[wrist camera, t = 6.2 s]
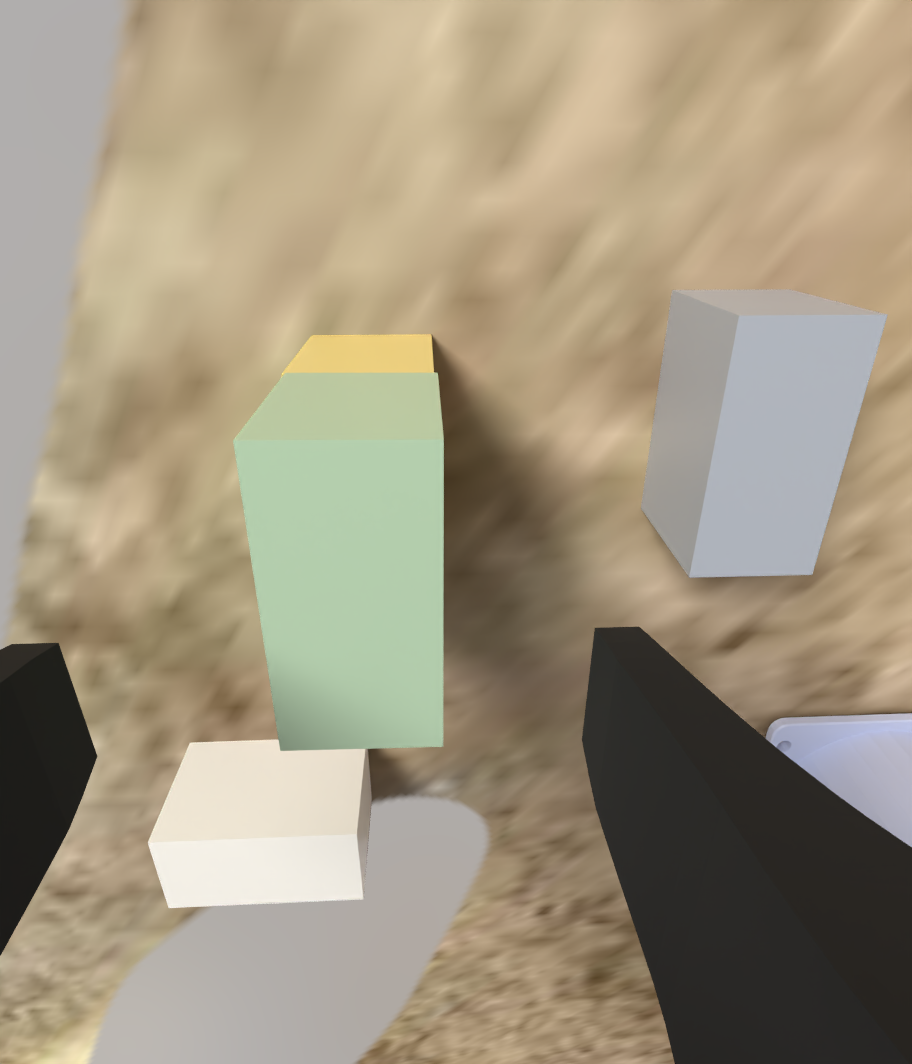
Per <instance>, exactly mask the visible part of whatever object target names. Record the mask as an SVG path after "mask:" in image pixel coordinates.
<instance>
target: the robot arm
mask: <svg viewBox="0 0 912 1064" xmlns="http://www.w3.org/2000/svg"><path fill="white" fill-rule="evenodd" d="M782 741H783V742H782ZM582 742H583V747H584V752H585V757H586V762H587V768H588V773H589V778H590V782H591V787H592V792H593V796H594V801H595V806H596V810H597V813H598V816H599V819H600V822H601V826H602V829H603V832H604V835H605V838H606V841H607V844H608V847H609V850H610V853H611V856H612V859H613V862H614V866H615V869H616V872H617V875H618V878H619V881H620V884H621V887H622V890H623V893H624V896H625V899H626V902H627V905H628V908H629V911H630V914H631V917H632V920H633V923H634V926H635V929H636V932H637V935H638V938H639V941H640V944H641V947H642V950H643V953H644V956H645V959H646V962H647V965H648V968H649V971H650V974H651V977H652V980H653V983H654V987H655V990H656V993H657V997H658V1000H659V1004H660V1007H661V1010H662V1014H663V1017H664V1021H665V1024H666V1028H667V1032H668V1037H669V1041H670V1045H671V1049H672V1053H673V1057H674V1062H675V1064H912V713H906V714H877V715H847V716H818V717H789V718H780V719H777V720H775V721H774V722H773V723H772V724H771V725H770V726H769V728H768V731H767V735H766V738H764V737H763V736H762V735H761V734H759V733H758V732H757V731H756V730H755V729H753V728H752V727H751V726H750V725H749V724H748V723H746V722H745V721H744V720H743V719H742V718H740V717H739V716H738V715H737V714H736V713H735V712H734V711H732V710H731V709H730V708H729V707H728V706H727V705H725V704H724V703H723V702H722V701H721V700H720V699H719V698H718V697H716V696H715V695H714V694H713V693H712V692H711V691H710V690H708V689H707V688H706V687H705V686H704V685H703V684H702V683H701V682H700V681H699V680H697V679H696V678H695V677H694V676H693V675H692V674H691V673H690V672H689V671H687V670H686V669H685V668H684V667H683V666H682V665H681V664H680V663H679V662H678V661H676V660H675V659H674V658H673V657H672V656H671V655H670V654H669V653H668V652H667V651H666V650H665V649H663V648H662V647H661V646H660V645H659V644H658V643H657V642H656V641H655V640H654V639H652V638H651V637H650V636H649V635H648V634H647V633H646V632H644V631H643V630H642V629H641V628H640V627H613V628H595V632H594V641H593V649H592V658H591V667H590V675H589V684H588V692H587V701H586V710H585V718H584V727H583V736H582ZM780 742H781V743H780ZM96 758H97V754H96V751H95V748H94V745H93V742H92V740H91V737H90V734H89V731H88V728H87V725H86V722H85V719H84V716H83V713H82V710H81V707H80V705H79V702H78V699H77V696H76V693H75V690H74V687H73V684H72V681H71V678H70V675H69V672H68V669H67V667H66V664H65V661H64V658H63V655H62V652H61V649H60V646H59V643H38V644H11V645H9V646H7V647H5V648H3V649H1V650H0V955H1V954H2V952H3V950H4V948H5V946H6V945H7V943H8V941H9V939H10V937H11V935H12V934H13V932H14V930H15V928H16V926H17V925H18V923H19V921H20V919H21V917H22V916H23V914H24V912H25V910H26V908H27V906H28V905H29V903H30V901H31V899H32V897H33V896H34V894H35V892H36V890H37V888H38V886H39V885H40V883H41V881H42V879H43V877H44V875H45V873H46V872H47V870H48V868H49V866H50V864H51V862H52V860H53V859H54V857H55V855H56V853H57V851H58V849H59V847H60V846H61V844H62V842H63V840H64V838H65V836H66V834H67V832H68V830H69V828H70V826H71V823H72V821H73V818H74V816H75V813H76V811H77V809H78V806H79V804H80V801H81V799H82V796H83V794H84V791H85V788H86V786H87V783H88V780H89V777H90V775H91V772H92V769H93V767H94V764H95V761H96Z"/></svg>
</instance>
